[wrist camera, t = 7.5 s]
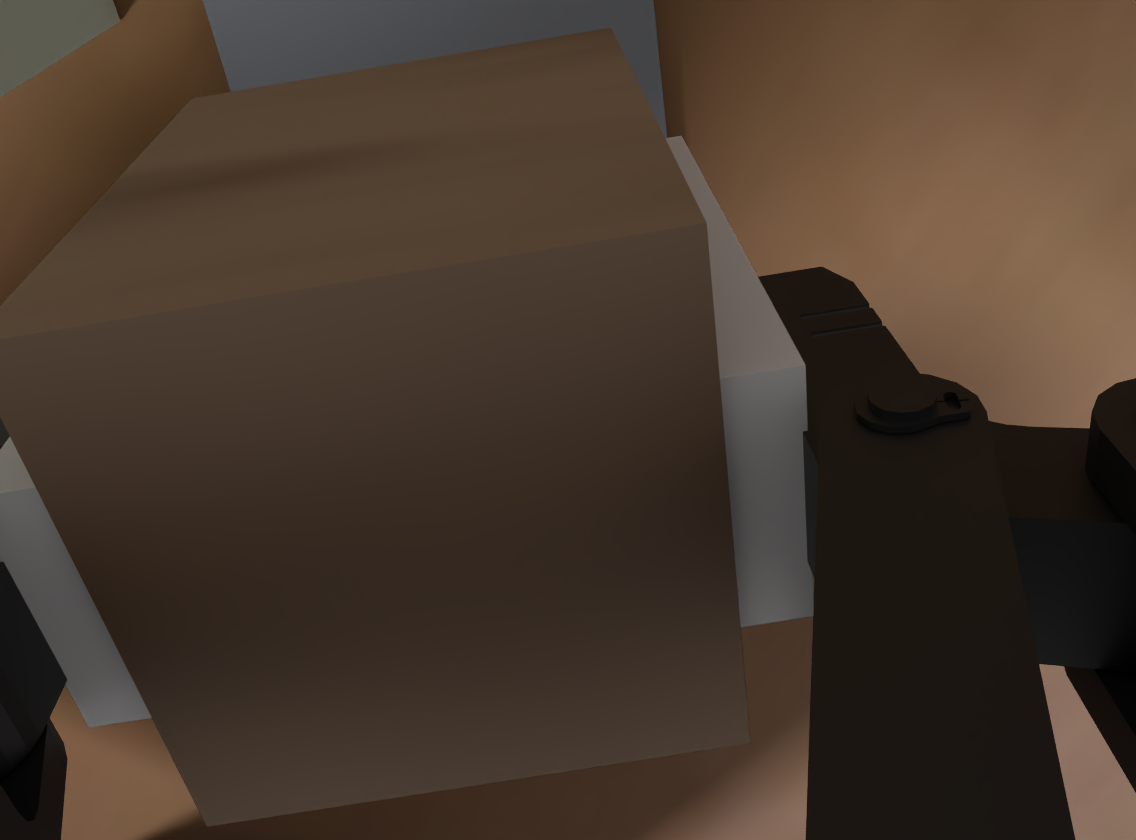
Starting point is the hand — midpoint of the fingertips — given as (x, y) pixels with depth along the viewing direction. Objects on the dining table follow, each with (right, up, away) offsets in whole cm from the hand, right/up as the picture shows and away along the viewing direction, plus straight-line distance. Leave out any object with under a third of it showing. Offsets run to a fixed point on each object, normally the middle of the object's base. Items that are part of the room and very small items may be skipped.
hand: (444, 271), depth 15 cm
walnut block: (0, 0, 0) cm, 0 cm away
